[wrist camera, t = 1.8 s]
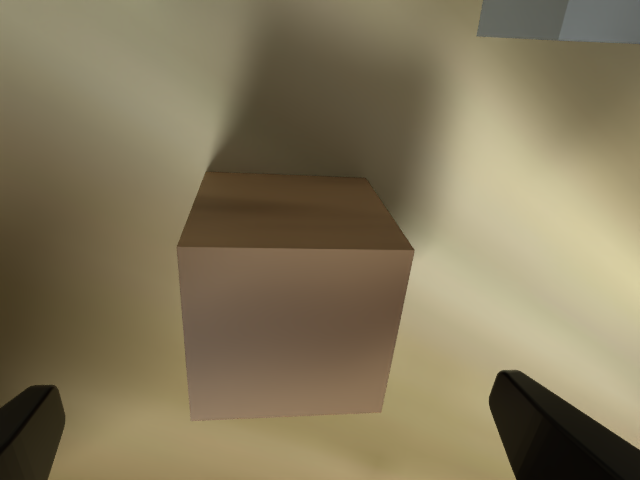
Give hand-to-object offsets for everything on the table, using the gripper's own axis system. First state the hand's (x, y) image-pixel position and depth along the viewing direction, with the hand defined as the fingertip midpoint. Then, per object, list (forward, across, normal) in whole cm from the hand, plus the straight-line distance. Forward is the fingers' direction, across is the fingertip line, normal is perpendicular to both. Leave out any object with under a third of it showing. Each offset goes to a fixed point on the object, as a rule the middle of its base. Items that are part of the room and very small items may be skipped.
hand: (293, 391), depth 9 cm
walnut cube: (+6, 0, 0) cm, 7 cm away
